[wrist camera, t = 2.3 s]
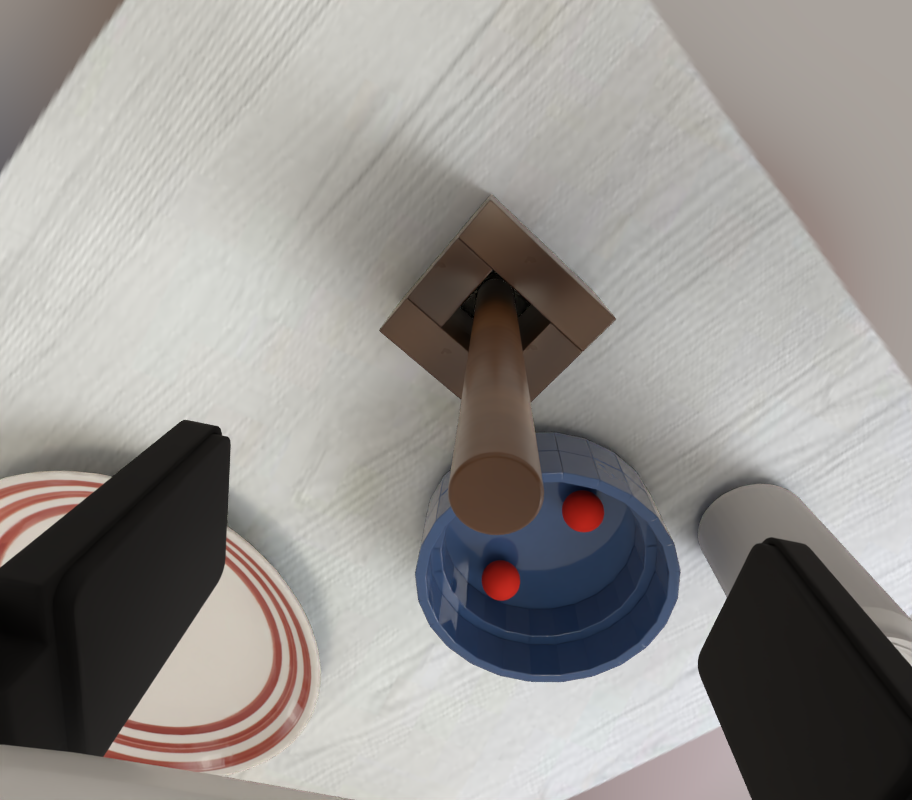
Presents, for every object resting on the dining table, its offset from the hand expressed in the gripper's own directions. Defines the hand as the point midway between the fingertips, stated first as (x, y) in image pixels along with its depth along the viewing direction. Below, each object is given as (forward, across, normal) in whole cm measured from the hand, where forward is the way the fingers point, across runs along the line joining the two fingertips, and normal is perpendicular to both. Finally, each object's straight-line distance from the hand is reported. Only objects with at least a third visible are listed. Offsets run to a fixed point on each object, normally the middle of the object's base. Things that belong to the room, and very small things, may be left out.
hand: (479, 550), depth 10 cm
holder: (+22, 0, 0) cm, 22 cm away
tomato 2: (+21, -8, +11) cm, 25 cm away
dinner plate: (+22, +19, +28) cm, 40 cm away
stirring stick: (+22, 0, 0) cm, 22 cm away
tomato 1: (+21, -5, +17) cm, 27 cm away
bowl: (+22, -6, +14) cm, 26 cm away
